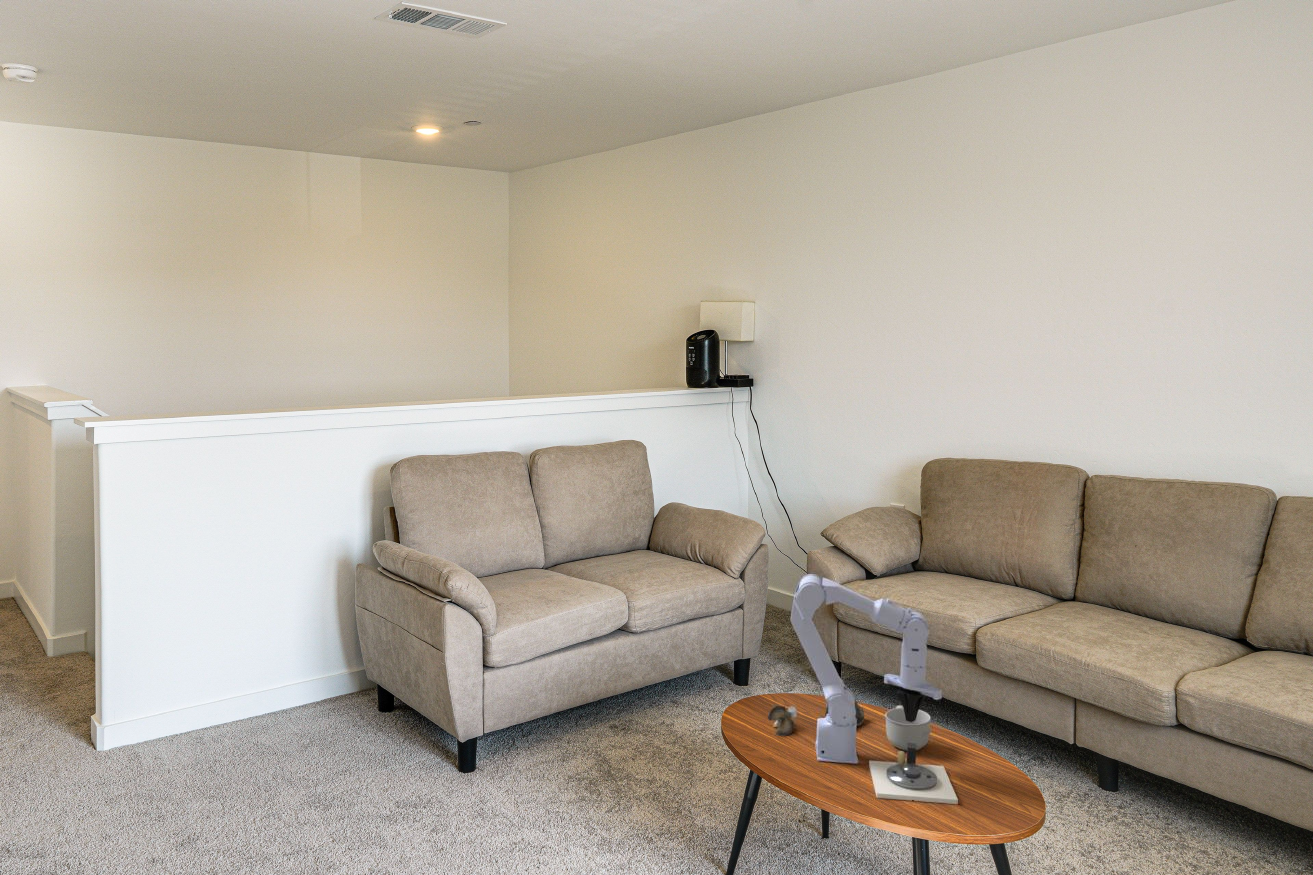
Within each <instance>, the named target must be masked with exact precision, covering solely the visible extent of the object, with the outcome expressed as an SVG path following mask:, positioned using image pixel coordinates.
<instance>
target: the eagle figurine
mask: <svg viewBox="0 0 1313 875" xmlns="http://www.w3.org/2000/svg"><path fill="white" fill-rule="evenodd" d="M772 707H773V708H771V709H770V711H769V712H768V715H767V719H768V721H775V722H774V723H773V725H772V728H776V727H778V728H777V729H776V730H775V732H774V734H775V735H776V736H778V735H779V736H780V737H785V736H788V735H791V734H792V732H793V730H794V727H795V721H794V720H793V719H795V718H797V715H798V709H797V708H796V707H795V706H793V705H789V707H787V709H786V707H785V706H784V705H783V706H782V705H775V704H774V703H773V704H772ZM778 725H779V726H778Z"/></svg>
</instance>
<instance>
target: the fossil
mask: <svg viewBox="0 0 1313 875" xmlns="http://www.w3.org/2000/svg"><path fill="white" fill-rule="evenodd" d="M858 703H859V702H858V701H857V700H856V699H855V710H856V715H855V717H856V719H857V725H856V728H859V727H860V726H861V725H862V724H863V722H864V721H865V713H864V708H863V707H861V706H860V704H858ZM825 709H826V710H825V714H824V718H826V715H827V714H828V713H829V712H828V710H829V706H828V703H827V702H826V703H825Z"/></svg>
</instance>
